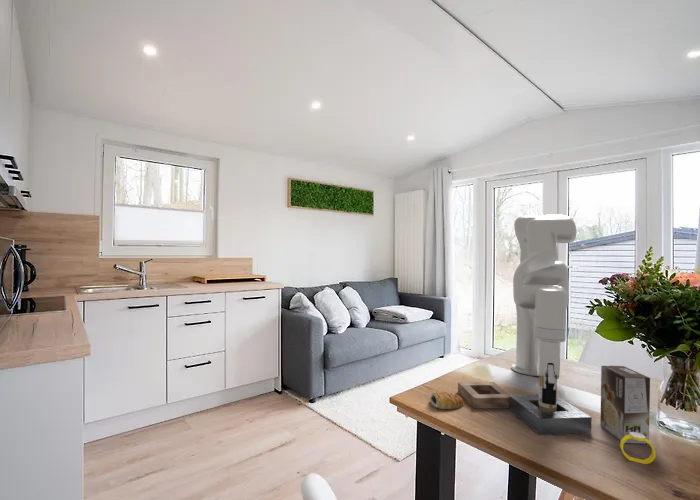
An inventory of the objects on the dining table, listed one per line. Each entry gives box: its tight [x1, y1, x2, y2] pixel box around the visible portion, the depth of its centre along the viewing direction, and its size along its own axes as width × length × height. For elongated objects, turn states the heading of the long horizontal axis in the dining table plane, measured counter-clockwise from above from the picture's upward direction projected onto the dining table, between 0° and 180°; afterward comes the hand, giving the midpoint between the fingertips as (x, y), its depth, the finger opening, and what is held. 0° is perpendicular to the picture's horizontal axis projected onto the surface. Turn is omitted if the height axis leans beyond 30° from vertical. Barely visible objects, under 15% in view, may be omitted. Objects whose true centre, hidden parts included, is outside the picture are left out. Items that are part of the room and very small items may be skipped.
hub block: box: [508, 394, 593, 435], centre depth 97 cm, size 14×14×4 cm
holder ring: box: [457, 381, 511, 409], centre depth 110 cm, size 12×12×3 cm
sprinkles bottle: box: [538, 366, 558, 412], centre depth 97 cm, size 5×5×14 cm
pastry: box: [429, 391, 464, 410], centre depth 105 cm, size 9×7×4 cm
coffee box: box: [599, 365, 651, 445], centre depth 90 cm, size 9×6×16 cm
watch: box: [619, 432, 657, 465], centre depth 79 cm, size 6×3×6 cm, turn 62°
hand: (547, 399), depth 97 cm, fingers closed on sprinkles bottle, 4 cm apart
